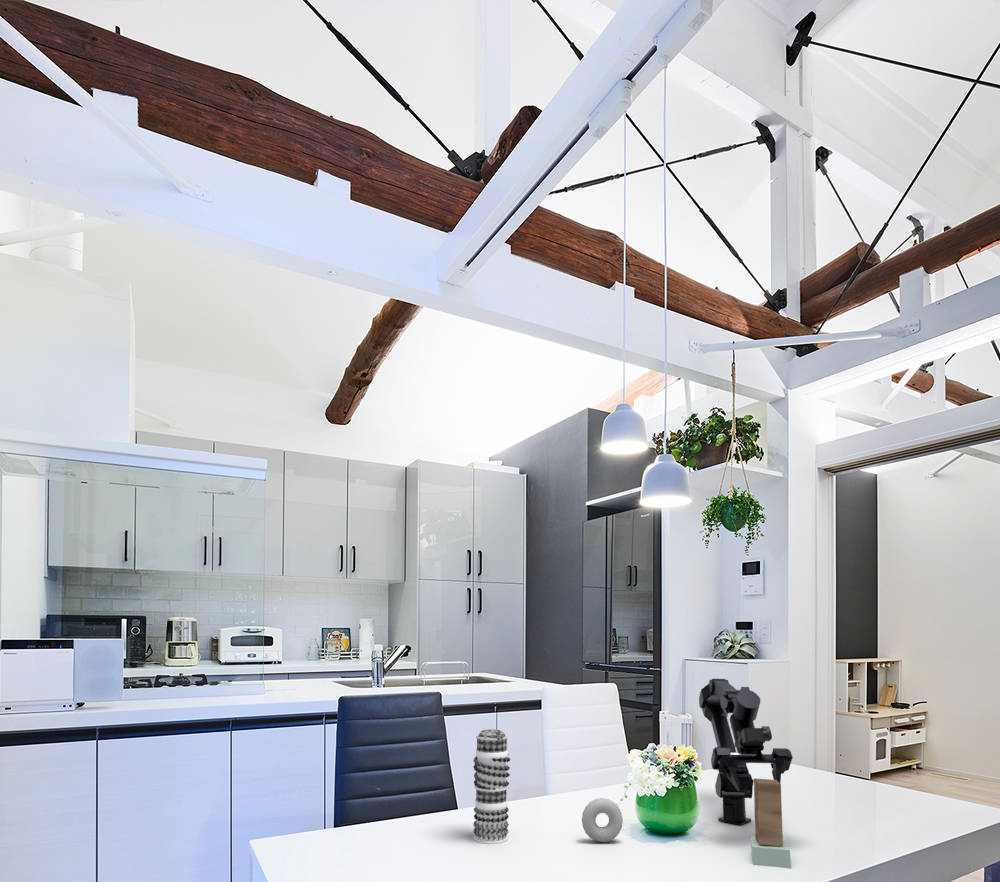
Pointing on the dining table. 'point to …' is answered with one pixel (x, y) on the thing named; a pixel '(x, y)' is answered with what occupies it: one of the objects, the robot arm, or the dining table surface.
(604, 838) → the donut
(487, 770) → the white grey cylinder
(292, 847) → the dining table surface
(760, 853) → the sage slab
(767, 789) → the walnut pillar
